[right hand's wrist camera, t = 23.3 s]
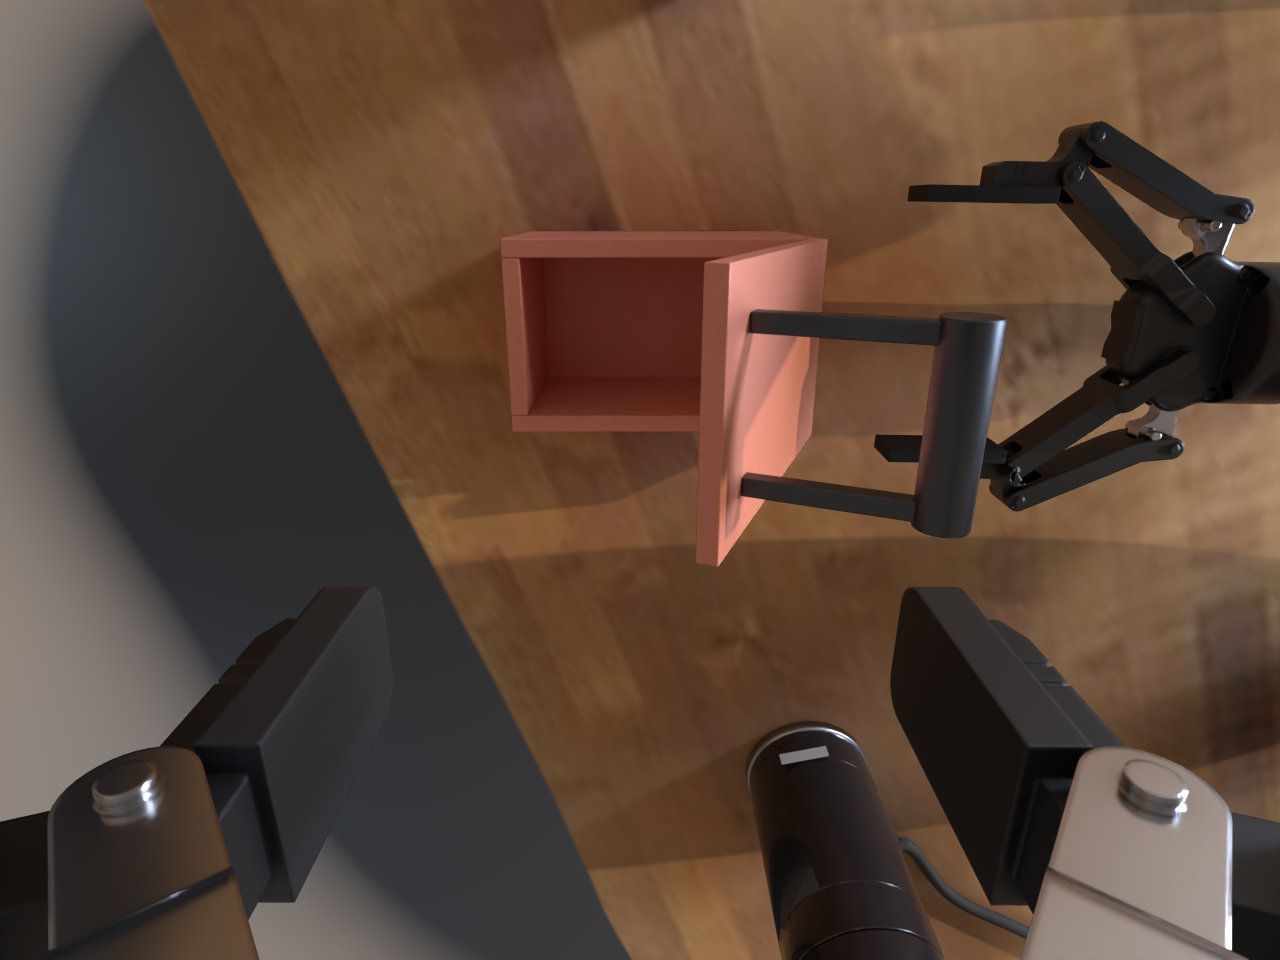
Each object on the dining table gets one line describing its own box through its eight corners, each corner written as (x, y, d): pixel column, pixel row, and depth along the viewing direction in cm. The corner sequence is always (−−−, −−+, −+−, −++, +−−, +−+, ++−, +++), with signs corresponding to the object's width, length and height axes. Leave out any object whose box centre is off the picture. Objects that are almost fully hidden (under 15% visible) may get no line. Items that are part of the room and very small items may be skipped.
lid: (694, 563, 24) (961, 614, 21) (703, 262, 21) (1022, 271, 18) (796, 433, 38) (966, 452, 35) (810, 238, 35) (1001, 241, 32)
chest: (537, 387, 47) (511, 432, 38) (529, 231, 44) (499, 238, 35) (770, 387, 47) (802, 431, 38) (780, 230, 44) (817, 238, 35)
